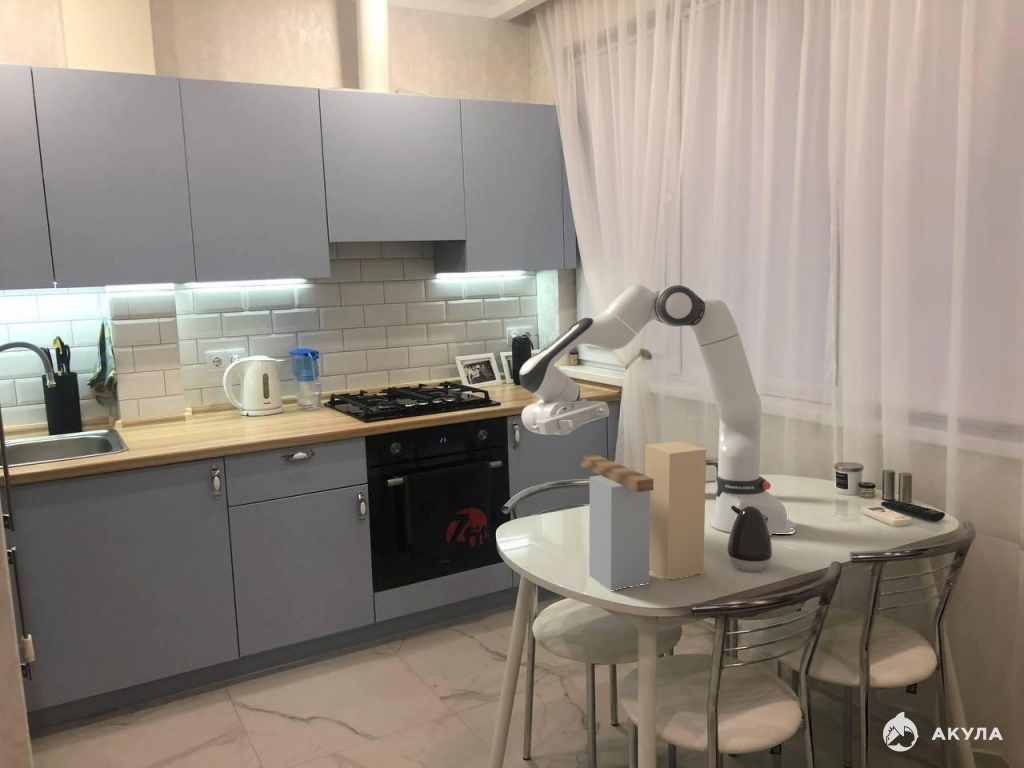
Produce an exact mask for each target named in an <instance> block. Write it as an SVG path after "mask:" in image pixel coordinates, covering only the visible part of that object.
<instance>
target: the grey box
mask: <svg viewBox="0 0 1024 768" xmlns="http://www.w3.org/2000/svg"><path fill="white" fill-rule="evenodd" d="M588 528H589V534H588V535H589V536H588V537H589V539H588V540H589V541H588V542H589V543H588V544H589V545H588V546H589V555H588V556H589V557H588V558H589V561H588V562H589V567H588V568H589V569H588V570H589V571H588V572H589V575H588V576H589V577H590V576H591V577H592V579H593V578H594V579H596V580H597V581H598V582H600V583H601V584H602V585H601V584H600V583H599V584H600V585H601V586H603V585H604V586H605V587H607V588H608V589H610V590H616V589H619V588H624V587H630V586H636V585H640V584H647V583H649V584H650V570H649V546H650V491H643V492H636V491H634V490H632V489H629V488H627V487H625V486H623V485H621V484H619V483H616V482H614V481H612V480H610V479H608V478H606V477H604V476H601V475H599V474H598V475H594V476H589V527H588ZM591 577H590V578H591ZM594 579H593V580H594ZM596 580H595V581H596ZM597 581H596V582H597ZM598 582H597V583H598ZM647 585H648V584H647ZM604 586H603V587H604ZM605 587H604V588H605ZM607 588H606V589H607ZM608 589H607V590H608ZM610 590H609V591H610ZM616 591H617V590H616Z"/></svg>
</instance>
